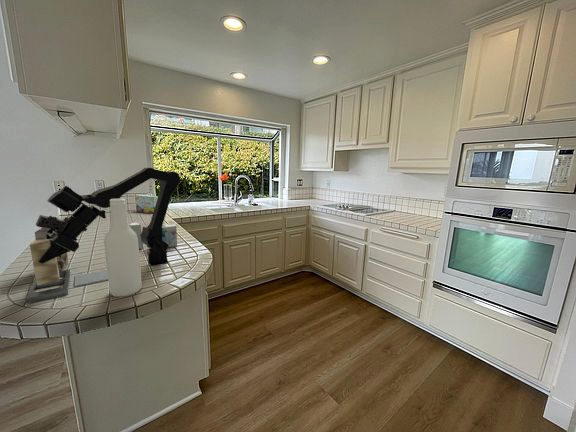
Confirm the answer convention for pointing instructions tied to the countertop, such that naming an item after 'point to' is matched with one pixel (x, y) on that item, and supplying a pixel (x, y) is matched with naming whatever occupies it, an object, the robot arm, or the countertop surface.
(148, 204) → the snack box
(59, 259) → the coffee box
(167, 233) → the light bulb box
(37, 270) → the tan wooden block
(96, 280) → the mat
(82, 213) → the robot arm
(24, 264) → the countertop surface
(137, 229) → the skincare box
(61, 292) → the frame
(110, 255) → the alcohol
